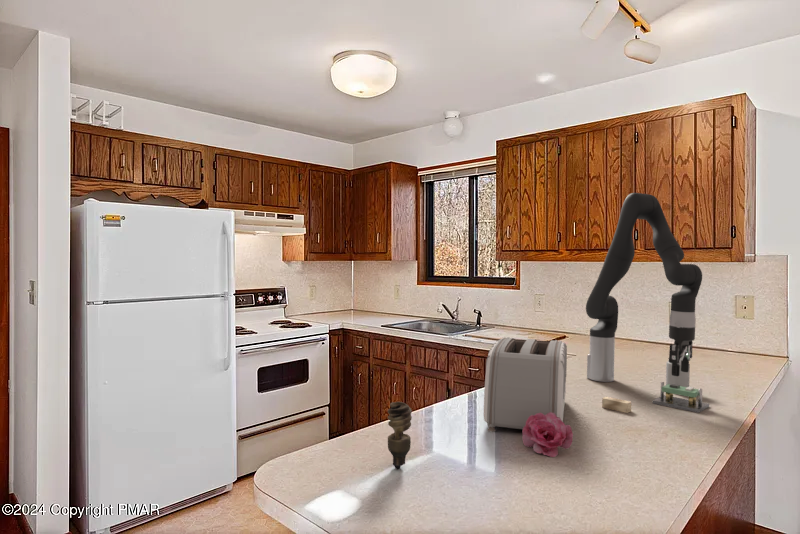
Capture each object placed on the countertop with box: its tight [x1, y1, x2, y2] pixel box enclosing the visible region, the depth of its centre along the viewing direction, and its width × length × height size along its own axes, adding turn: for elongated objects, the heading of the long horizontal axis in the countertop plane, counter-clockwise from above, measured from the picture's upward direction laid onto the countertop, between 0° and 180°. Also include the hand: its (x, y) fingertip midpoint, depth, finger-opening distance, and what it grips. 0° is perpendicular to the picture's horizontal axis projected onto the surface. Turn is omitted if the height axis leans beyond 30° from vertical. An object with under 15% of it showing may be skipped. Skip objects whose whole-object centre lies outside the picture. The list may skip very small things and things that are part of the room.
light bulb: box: [387, 401, 413, 470], centre depth 118 cm, size 6×6×15 cm
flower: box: [521, 412, 574, 458], centre depth 130 cm, size 11×10×10 cm
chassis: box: [652, 381, 710, 414], centre depth 172 cm, size 14×10×6 cm
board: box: [662, 384, 699, 398], centre depth 172 cm, size 10×6×2 cm, turn 44°
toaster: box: [483, 336, 568, 433], centre depth 161 cm, size 21×45×22 cm, turn 161°
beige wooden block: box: [601, 396, 632, 414], centre depth 166 cm, size 8×3×3 cm, turn 44°
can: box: [665, 357, 691, 387], centre depth 189 cm, size 8×8×12 cm
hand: (680, 373), depth 172 cm, fingers open, 8 cm apart
